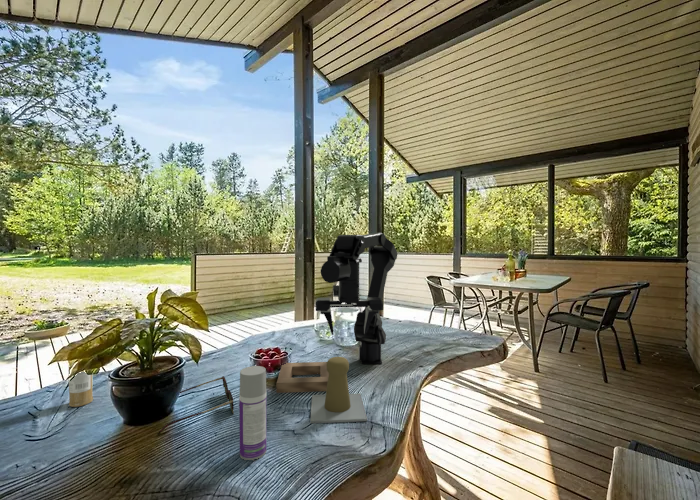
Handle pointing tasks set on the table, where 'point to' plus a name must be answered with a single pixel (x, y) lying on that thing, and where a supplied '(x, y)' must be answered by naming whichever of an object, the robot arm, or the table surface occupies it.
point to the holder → (304, 383)
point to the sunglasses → (229, 398)
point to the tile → (325, 416)
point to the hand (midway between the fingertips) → (348, 334)
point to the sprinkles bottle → (80, 389)
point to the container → (253, 412)
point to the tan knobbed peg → (337, 385)
